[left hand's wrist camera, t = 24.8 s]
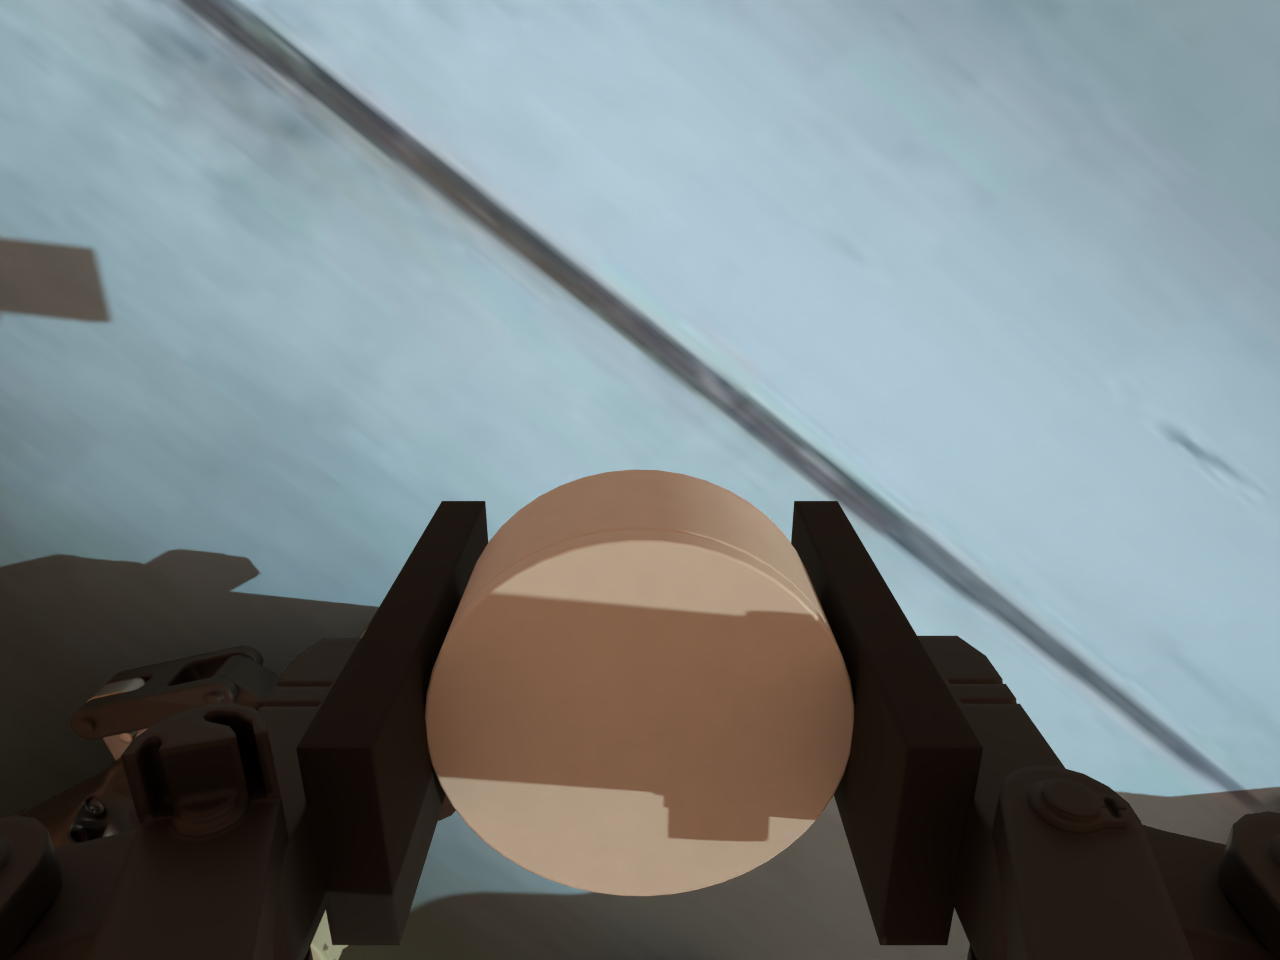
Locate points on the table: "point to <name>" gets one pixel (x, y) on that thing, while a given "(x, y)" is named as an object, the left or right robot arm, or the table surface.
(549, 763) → the lid
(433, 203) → the table surface
